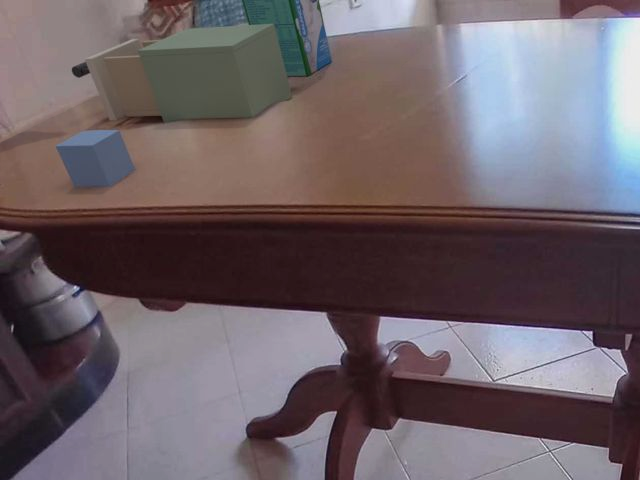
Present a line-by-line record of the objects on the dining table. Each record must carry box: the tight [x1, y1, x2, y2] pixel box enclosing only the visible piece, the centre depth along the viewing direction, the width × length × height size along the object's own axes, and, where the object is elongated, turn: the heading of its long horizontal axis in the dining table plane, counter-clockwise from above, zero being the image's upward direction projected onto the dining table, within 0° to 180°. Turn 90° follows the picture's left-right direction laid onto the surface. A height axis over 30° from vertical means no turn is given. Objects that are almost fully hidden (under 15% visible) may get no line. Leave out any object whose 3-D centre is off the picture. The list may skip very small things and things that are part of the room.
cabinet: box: [138, 24, 293, 124], centre depth 103 cm, size 15×13×11 cm
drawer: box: [71, 38, 162, 121], centre depth 105 cm, size 18×11×9 cm, turn 78°
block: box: [55, 129, 136, 187], centre depth 83 cm, size 5×5×6 cm
